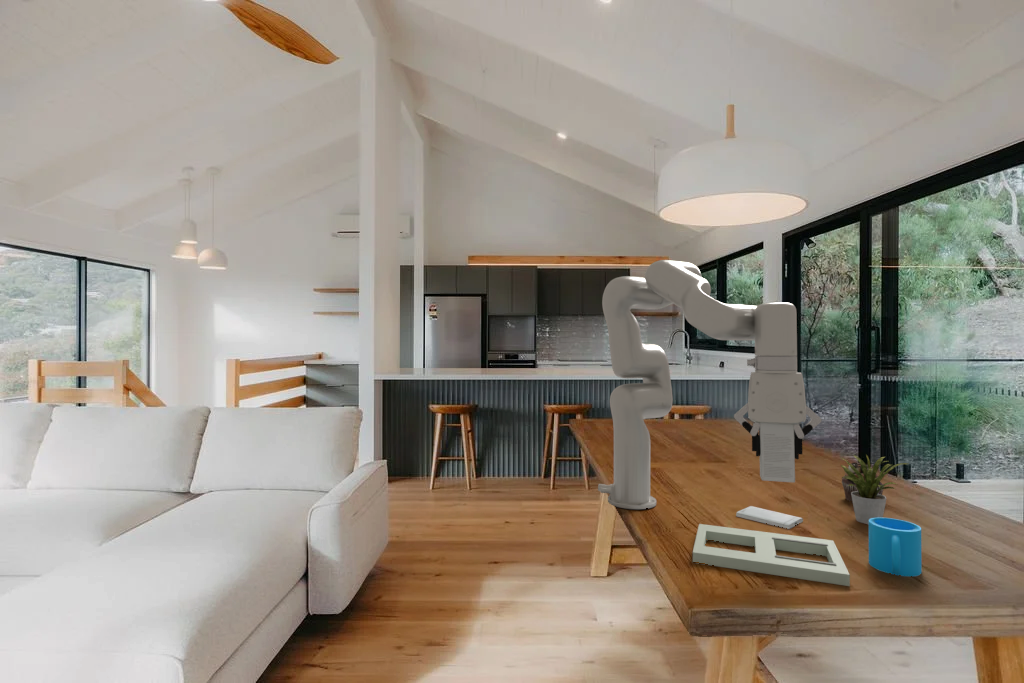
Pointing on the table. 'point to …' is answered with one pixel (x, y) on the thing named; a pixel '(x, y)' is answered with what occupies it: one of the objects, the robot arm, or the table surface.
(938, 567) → the table surface
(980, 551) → the table surface
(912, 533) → the mug
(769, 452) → the skincare box
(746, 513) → the hard drive
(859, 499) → the house plant
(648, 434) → the robot arm
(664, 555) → the table surface
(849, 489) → the cupcake
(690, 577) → the table surface
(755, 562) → the socket board
